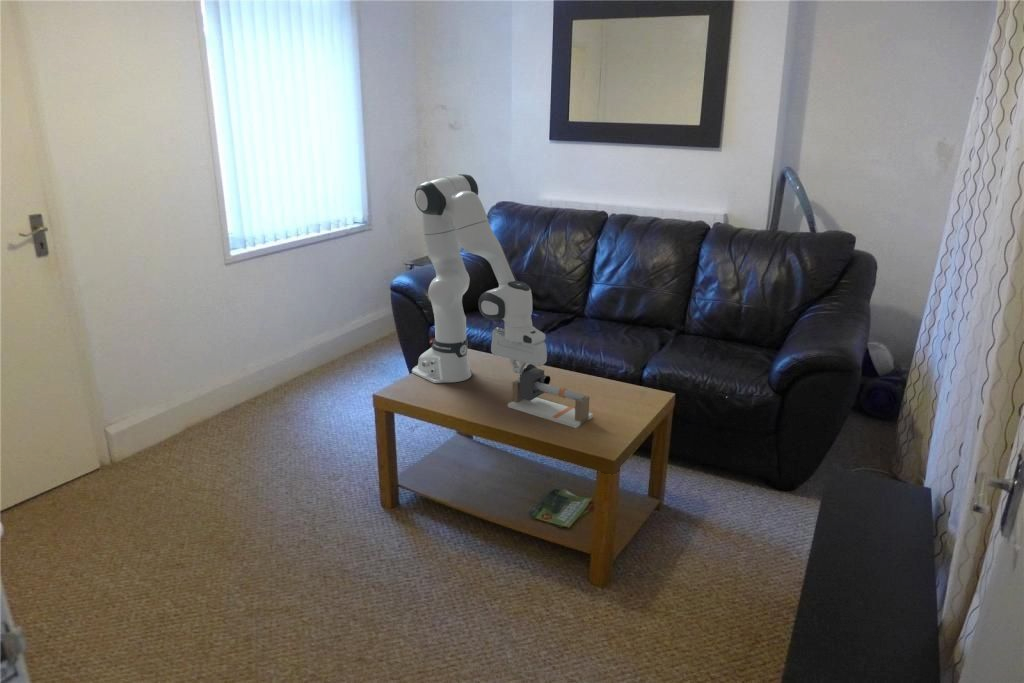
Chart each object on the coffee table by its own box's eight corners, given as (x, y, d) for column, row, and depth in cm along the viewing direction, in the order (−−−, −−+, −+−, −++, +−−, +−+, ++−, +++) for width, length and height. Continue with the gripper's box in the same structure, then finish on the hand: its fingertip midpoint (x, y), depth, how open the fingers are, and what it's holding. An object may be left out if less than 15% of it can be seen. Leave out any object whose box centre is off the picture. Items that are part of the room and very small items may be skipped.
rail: (507, 407, 230) (508, 380, 227) (525, 397, 238) (525, 371, 234) (575, 428, 215) (577, 399, 212) (592, 417, 223) (593, 389, 220)
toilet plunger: (533, 377, 254) (551, 386, 249) (500, 398, 242) (519, 408, 237) (534, 360, 250) (553, 369, 245) (501, 380, 238) (520, 390, 233)
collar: (519, 397, 227) (519, 374, 225) (533, 390, 233) (534, 367, 231) (529, 400, 225) (530, 377, 222) (543, 393, 231) (544, 370, 228)
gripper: (486, 328, 229) (487, 368, 233) (538, 340, 217) (537, 382, 222) (498, 324, 234) (498, 363, 238) (549, 335, 222) (549, 376, 227)
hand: (518, 372), depth 230 cm, fingers closed
